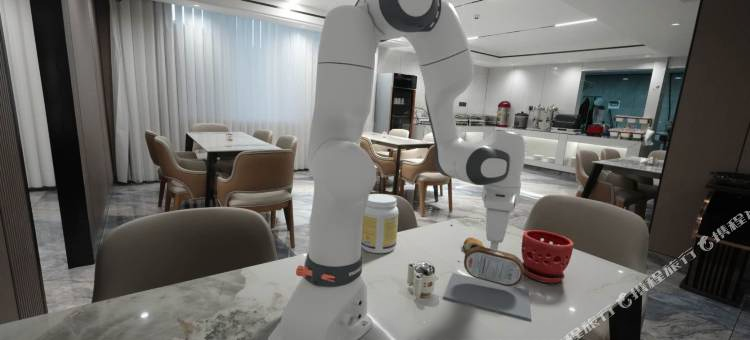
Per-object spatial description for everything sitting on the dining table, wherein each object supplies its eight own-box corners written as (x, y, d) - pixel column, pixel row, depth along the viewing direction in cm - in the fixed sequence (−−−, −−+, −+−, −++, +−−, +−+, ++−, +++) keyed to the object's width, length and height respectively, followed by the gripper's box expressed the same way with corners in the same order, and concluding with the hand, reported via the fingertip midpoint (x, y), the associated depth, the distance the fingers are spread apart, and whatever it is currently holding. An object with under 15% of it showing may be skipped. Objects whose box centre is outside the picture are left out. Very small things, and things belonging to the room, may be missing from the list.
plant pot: (571, 290, 93) (579, 249, 90) (519, 280, 97) (525, 240, 94) (562, 270, 105) (568, 233, 103) (516, 261, 109) (521, 225, 107)
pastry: (461, 242, 123) (463, 232, 123) (481, 244, 122) (482, 234, 122) (464, 252, 114) (465, 241, 113) (485, 255, 113) (486, 244, 112)
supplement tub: (392, 240, 121) (396, 193, 118) (399, 254, 109) (403, 203, 106) (358, 239, 119) (360, 192, 116) (360, 254, 107) (363, 202, 104)
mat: (531, 320, 78) (531, 318, 78) (443, 298, 85) (443, 296, 85) (528, 291, 91) (529, 290, 91) (452, 274, 98) (452, 272, 98)
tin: (520, 286, 90) (526, 256, 88) (520, 291, 87) (527, 260, 85) (462, 270, 95) (467, 242, 93) (460, 275, 92) (465, 246, 90)
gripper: (490, 185, 97) (484, 231, 100) (484, 202, 78) (477, 259, 81) (514, 188, 95) (508, 235, 97) (513, 206, 76) (506, 264, 79)
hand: (494, 246), depth 89 cm, fingers open, 3 cm apart
